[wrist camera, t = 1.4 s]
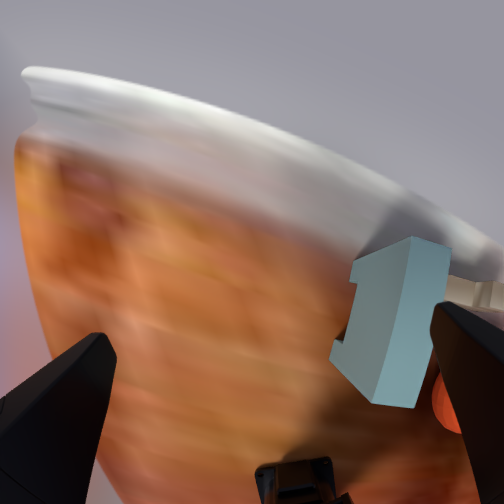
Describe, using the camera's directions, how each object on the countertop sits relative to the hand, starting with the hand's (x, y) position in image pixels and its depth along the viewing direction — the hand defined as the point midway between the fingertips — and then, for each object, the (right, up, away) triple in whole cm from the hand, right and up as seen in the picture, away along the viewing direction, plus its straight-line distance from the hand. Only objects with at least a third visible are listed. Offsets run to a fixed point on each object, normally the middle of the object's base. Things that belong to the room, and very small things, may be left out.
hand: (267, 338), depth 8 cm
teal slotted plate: (+8, -3, +16) cm, 18 cm away
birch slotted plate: (+15, -1, +16) cm, 22 cm away
